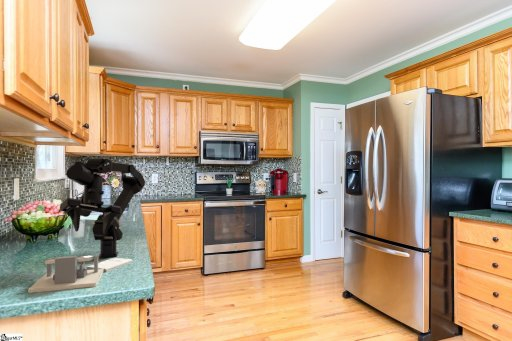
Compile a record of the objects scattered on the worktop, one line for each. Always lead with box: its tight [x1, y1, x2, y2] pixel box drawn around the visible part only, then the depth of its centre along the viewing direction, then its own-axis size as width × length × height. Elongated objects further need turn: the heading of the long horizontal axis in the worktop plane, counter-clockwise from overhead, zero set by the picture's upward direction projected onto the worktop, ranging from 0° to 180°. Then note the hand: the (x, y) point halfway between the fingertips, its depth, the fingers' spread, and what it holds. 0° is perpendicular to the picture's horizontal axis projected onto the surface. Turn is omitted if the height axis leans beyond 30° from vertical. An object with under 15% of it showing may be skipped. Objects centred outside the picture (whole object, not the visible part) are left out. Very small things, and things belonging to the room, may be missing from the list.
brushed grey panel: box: [44, 255, 94, 265], centre depth 93 cm, size 1×11×8 cm
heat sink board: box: [27, 254, 105, 294], centre depth 92 cm, size 14×16×8 cm
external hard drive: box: [85, 257, 133, 273], centre depth 108 cm, size 2×8×12 cm
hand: (91, 232), depth 105 cm, fingers open, 9 cm apart
